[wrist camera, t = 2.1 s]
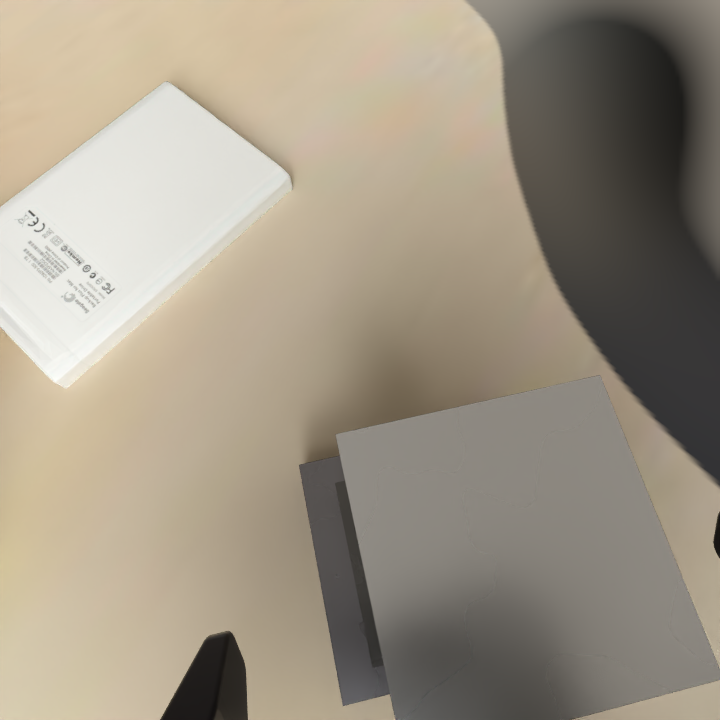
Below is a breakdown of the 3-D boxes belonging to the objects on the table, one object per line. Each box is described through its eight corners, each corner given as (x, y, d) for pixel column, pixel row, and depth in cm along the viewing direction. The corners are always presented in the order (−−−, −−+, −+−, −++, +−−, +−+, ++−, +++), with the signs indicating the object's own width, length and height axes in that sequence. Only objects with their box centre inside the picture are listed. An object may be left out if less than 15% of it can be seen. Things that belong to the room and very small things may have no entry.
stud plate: (558, 638, 17) (575, 646, 15) (344, 692, 16) (343, 706, 15) (491, 428, 19) (501, 419, 18) (304, 471, 19) (299, 465, 17)
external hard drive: (295, 197, 24) (74, 394, 20) (175, 105, 25) (-44, 272, 22) (290, 172, 22) (49, 381, 19) (163, 76, 24) (-74, 251, 21)
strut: (527, 614, 16) (769, 707, 6) (371, 654, 15) (379, 814, 6) (480, 458, 17) (614, 344, 8) (338, 490, 17) (302, 413, 8)
